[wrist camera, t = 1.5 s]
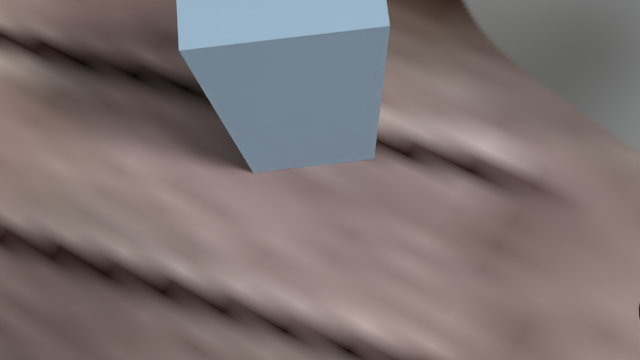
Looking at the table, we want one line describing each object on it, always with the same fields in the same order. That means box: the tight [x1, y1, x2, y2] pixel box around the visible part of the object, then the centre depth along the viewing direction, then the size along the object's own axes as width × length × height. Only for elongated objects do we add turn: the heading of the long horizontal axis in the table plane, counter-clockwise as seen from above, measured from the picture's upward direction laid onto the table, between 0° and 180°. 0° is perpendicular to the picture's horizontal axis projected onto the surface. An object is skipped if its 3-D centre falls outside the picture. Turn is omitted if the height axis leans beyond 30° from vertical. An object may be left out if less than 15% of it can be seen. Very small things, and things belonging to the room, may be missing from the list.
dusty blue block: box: [176, 0, 390, 173], centre depth 18 cm, size 4×4×10 cm
